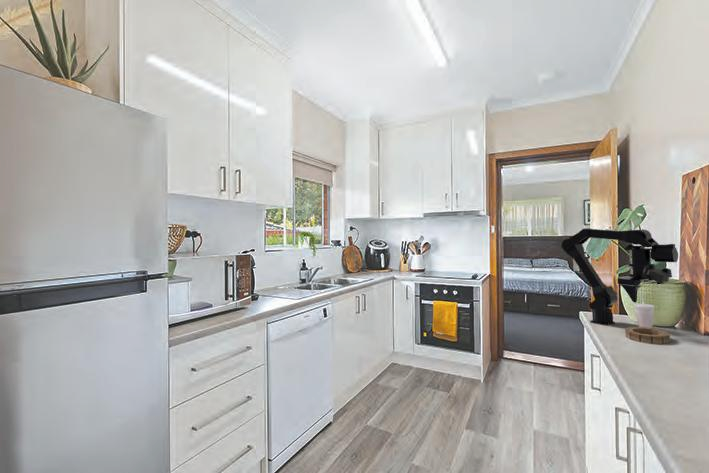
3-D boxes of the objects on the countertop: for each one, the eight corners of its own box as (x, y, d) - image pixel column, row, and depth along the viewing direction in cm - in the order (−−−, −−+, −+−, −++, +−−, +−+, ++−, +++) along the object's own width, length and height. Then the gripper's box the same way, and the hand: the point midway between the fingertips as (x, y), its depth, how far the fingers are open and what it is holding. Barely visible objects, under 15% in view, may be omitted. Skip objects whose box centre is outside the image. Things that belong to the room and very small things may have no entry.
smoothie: (631, 329, 132) (629, 294, 132) (640, 326, 134) (637, 292, 134) (651, 333, 126) (648, 296, 126) (659, 330, 129) (657, 294, 129)
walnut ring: (617, 336, 125) (617, 329, 125) (640, 331, 128) (640, 325, 128) (654, 345, 113) (653, 338, 113) (678, 340, 116) (678, 333, 116)
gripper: (647, 264, 120) (649, 307, 120) (682, 260, 125) (684, 302, 125) (615, 262, 131) (617, 302, 131) (649, 259, 136) (651, 297, 136)
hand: (643, 300), depth 130 cm, fingers open, 9 cm apart
